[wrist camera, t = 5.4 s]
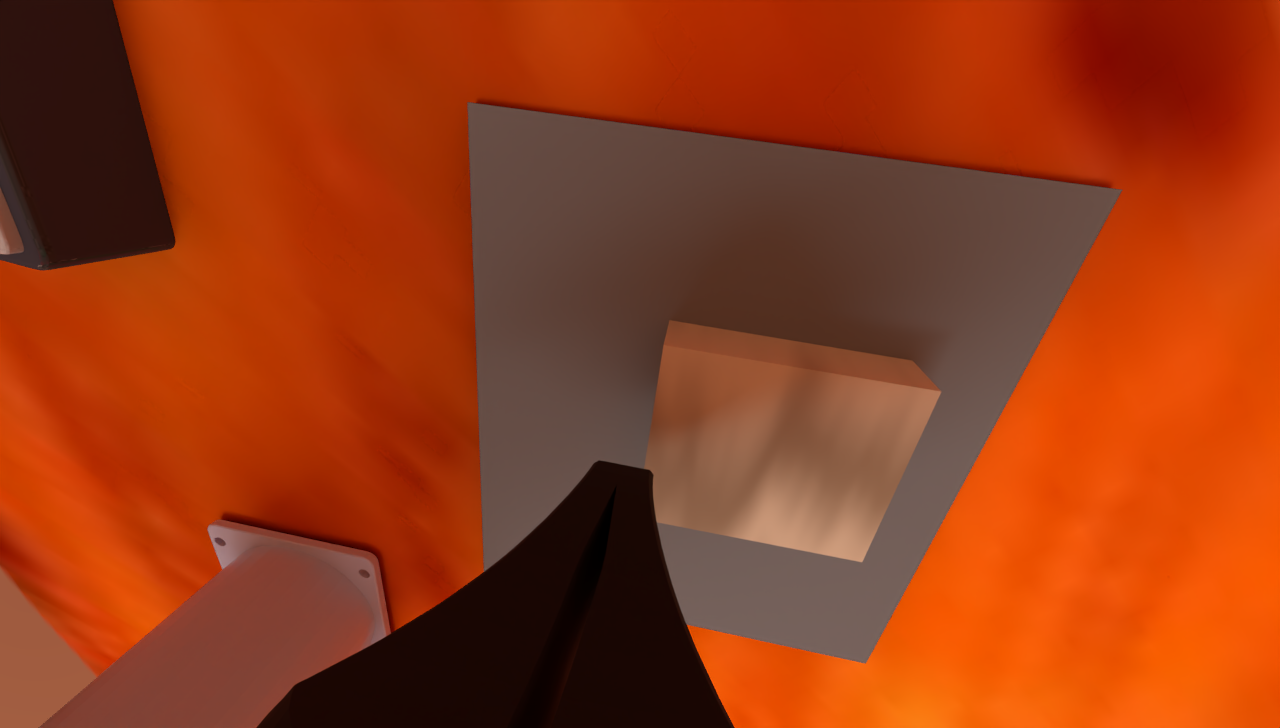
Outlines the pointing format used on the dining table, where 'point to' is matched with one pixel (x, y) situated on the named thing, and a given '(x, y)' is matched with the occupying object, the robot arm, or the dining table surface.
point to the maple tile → (781, 438)
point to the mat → (746, 326)
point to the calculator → (73, 140)
